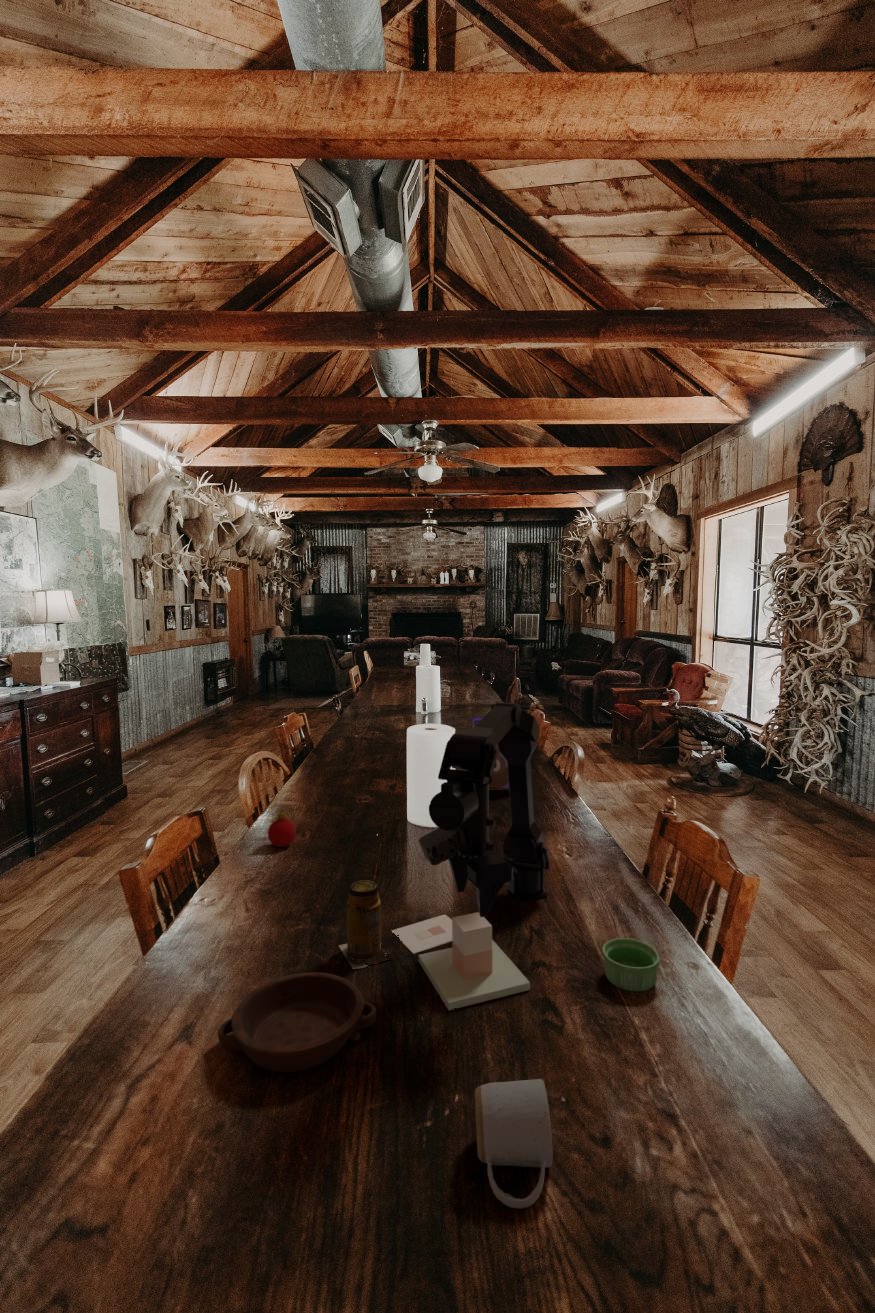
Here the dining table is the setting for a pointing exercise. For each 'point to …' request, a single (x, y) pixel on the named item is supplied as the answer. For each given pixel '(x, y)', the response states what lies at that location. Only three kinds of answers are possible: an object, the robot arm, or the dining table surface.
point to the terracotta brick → (472, 963)
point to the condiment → (362, 923)
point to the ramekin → (630, 964)
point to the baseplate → (472, 979)
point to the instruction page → (426, 934)
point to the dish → (297, 1021)
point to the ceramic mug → (514, 1131)
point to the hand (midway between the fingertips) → (471, 903)
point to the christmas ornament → (282, 831)
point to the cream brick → (471, 933)
